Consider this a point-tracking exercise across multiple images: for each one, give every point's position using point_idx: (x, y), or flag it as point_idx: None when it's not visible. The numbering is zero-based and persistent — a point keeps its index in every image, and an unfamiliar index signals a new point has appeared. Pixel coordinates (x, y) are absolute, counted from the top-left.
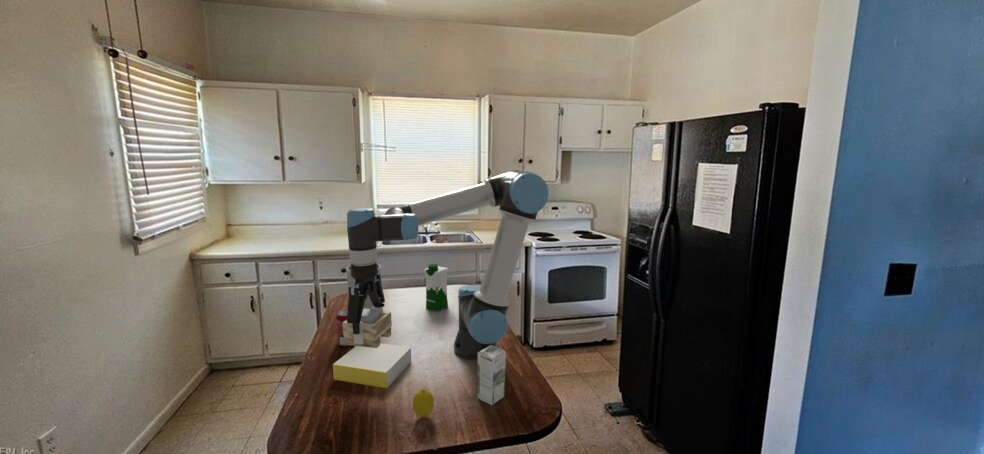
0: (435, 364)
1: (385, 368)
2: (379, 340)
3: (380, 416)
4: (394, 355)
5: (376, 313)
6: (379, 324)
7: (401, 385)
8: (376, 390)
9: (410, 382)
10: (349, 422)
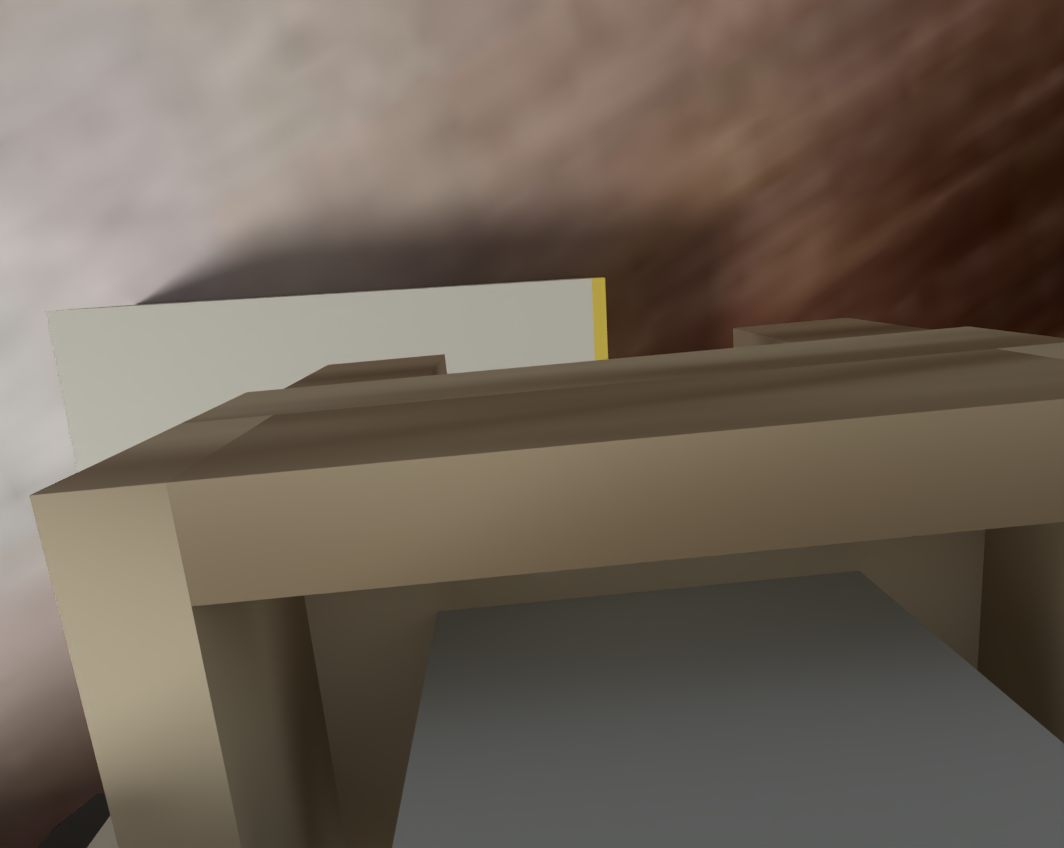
0: (81, 51)
1: (538, 328)
2: (781, 335)
3: (926, 116)
4: (276, 386)
5: (628, 830)
6: (929, 385)
7: (511, 183)
8: (637, 340)
9: (445, 130)
10: (1029, 294)
